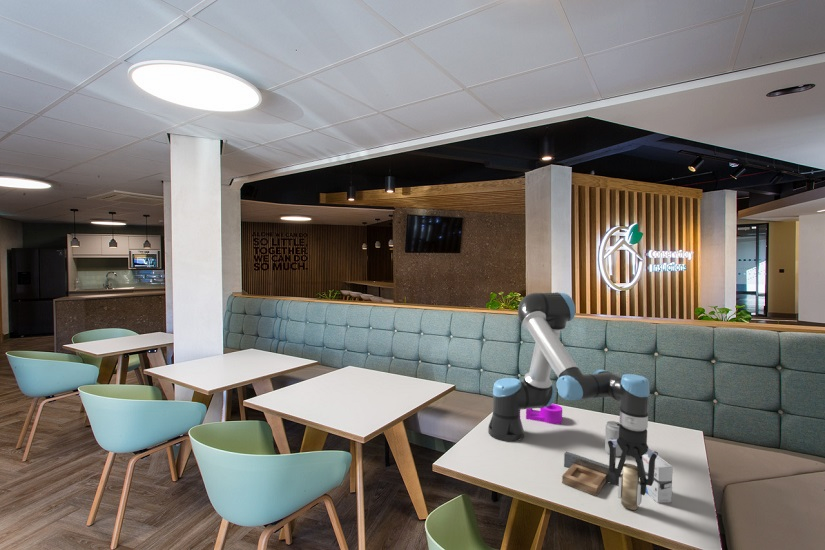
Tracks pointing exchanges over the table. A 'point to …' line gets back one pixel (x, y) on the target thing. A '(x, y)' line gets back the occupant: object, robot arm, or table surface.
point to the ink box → (659, 480)
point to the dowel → (630, 486)
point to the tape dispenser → (546, 414)
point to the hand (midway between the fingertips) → (629, 499)
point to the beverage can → (612, 436)
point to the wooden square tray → (584, 479)
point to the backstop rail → (589, 465)
